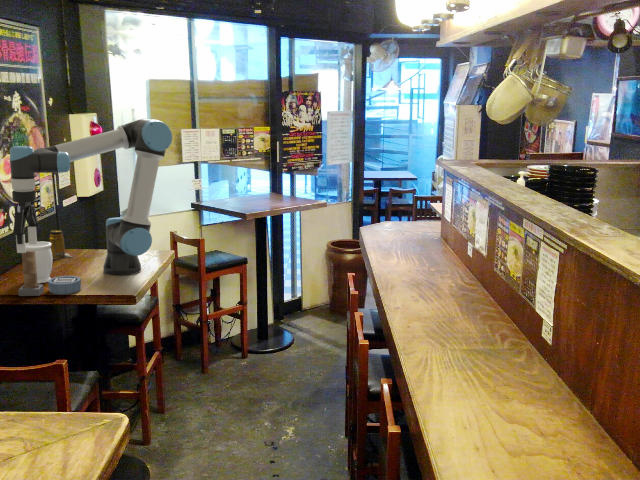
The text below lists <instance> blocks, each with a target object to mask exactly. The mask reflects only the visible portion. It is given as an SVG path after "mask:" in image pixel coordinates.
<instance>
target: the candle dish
mask: <svg viewBox="0 0 640 480" xmlns="http://www.w3.org/2000/svg"><path fill="white" fill-rule="evenodd" d="M47 284H48V290H49V293H50V294H52V295H57V296H58V295H62V296H63V295H70V294H71V295H72V294H76V293H78V292H80V291H81V290H82V278H81V277H80V276H77V275H76V276H75V275H62V276H54V277H52V278H51V279H50V280H49V281H48V282H47Z"/></svg>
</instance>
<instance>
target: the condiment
mask: <svg viewBox="0 0 640 480" xmlns="http://www.w3.org/2000/svg"><path fill="white" fill-rule="evenodd" d="M49 242H50V243H51V247H50V249H51V251H52V258H53V260H58V259H67V258H73V256H72V255H70V254H69V253H66V250H65V249H66V247H65V237H64V233H63V231H62V230H61V229H60V230H59V229H56V230H55V229H54V230H50V232H49Z"/></svg>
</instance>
